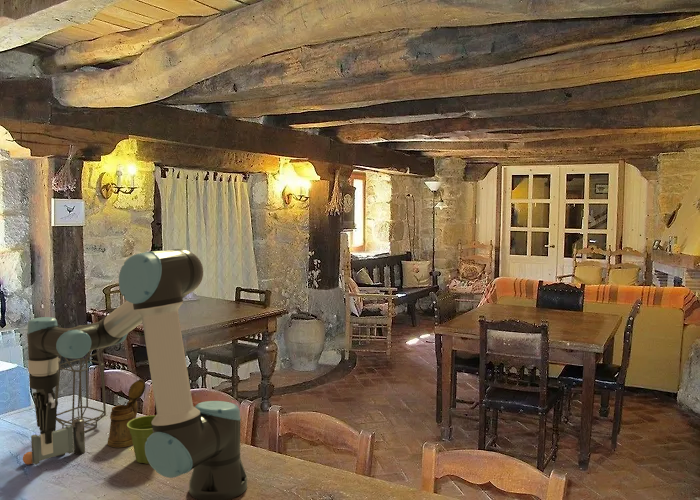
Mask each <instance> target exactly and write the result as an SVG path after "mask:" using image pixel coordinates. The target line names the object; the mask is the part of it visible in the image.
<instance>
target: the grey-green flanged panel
mask: <svg viewBox="0 0 700 500" xmlns="http://www.w3.org/2000/svg"><path fill="white" fill-rule="evenodd" d="M66 425H67V426H65V427H64V428H63V429H62V428H60V429H57V430H55V431H53V432H52V433H53V453H51V454H47V455H44V456H43V455H42V454H41V434H38V435H37V434H31V435H30V437H31V438H30V439H31V440H30V441H31V442H30V443H31V452H32V464H34V465H38V464H40V462H41V461H44V460H47V459H50V458H54V457H56V456H58V455H61V454H64V453H65V454H67V453H68V454H74V451H73V426H71V424H66ZM58 457H59V456H58Z"/></svg>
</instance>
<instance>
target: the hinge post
mask: <svg viewBox="0 0 700 500" xmlns="http://www.w3.org/2000/svg"><path fill="white" fill-rule="evenodd" d="M84 421H85V418H83V419H82V418H79V419H78V418H76V419H74V420H73V455H76V456H77V455H78V456H79V455H82V454H85V453H86V435H85V433H86V432H85V431H86V430H85V427H84V426H85V423H84Z"/></svg>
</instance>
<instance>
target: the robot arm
mask: <svg viewBox="0 0 700 500" xmlns="http://www.w3.org/2000/svg"><path fill="white" fill-rule="evenodd" d="M203 267H204V266H203V263H202V262H201V259H200V258H199V257H198V255H196V254H195V253H193V252H192V251H190V250H188V249H183V248H174V249H168V250H167V249H166V250H165V249H164V250H153V251H145V252H141V253H136V254H133V255H131V256H130V257H128V258H127V259H126V260H125V261H124V263H123V265H122V266H121V267H120V271H119V273H118V288H119V291H120V294H121V295H122V296H123V298H124V299H125V301H124V302H123V303H122V304H120V305H119V306H118V307H116V308H115V309H114V310H112V312H110V313H108V314H107V315H106V316H105V317H103V318H102V319H101V320H99V321H96V322H92V323H87V324H82V325H83V326H78V325H77V326H78V327H76V326H74V327H69V328H63V327H59V324H58V320H57V319H56V318H55V317H52V316H41V317H36V318H35V317H34V318H31V319H30V320H28V322H27V333H26V338H27V352H28V353H27V354H28V356H27V357H28V360H27V361H28V362H27V363H28V373H29V378H28V379H29V387H30V389H32V390H35V392H33V393H32V396H33V400H34V409H35V417H36V418H35V419H36V426H37V427H38V428H39V429H38V430H39V433H40V434H39V435H41V454H42V455H43V456H44V455H47V454H51V453H53V433H52V432H53V431H56V429H57V421H56V417H57V416H56V415H57V414H58V412H57V411H58V405H59V400H58V401H57V400H56V401H55V391H54V388H56V386H57V385H58V384H59V385H60V379H59V372H58V371H59V365H58V363H59V361H60V356H62V357H63V358H64V357H65V358H67V359H74V360H77V359H81V358H83V357H85V356H86V355H87V353H89V351H92V352H93V351H95V350H96V351H97V349H98V350H100V348H103V347H106V348H107V347H112V346H116V345H118V344H120V343H123V342H124V341H125V340H126V339H127V336H128V334H129V333H130V332H131V331H133V330H134V329H136V328H137V327H139V326H140V325H141V324H142V328H143V334H144V340H145V346H146V354H147V359H148V360H147V361H148V364H149V366H148V367H149V372H150V378H151V379H150V380H151V384H152V392H153V397H154V404H155V412H156V415H155V417H154V419H153V420H152V429H153V433H152V434H151V435H150V436H149V437H148V438H147V441H146V443H145V454H146V457H147V460H148V462H149V464H148V465H150V466H151V468H152V469H153V470H154V471H156V473H157V474H158V475H160V476H162V477H165V478H169V479H173V478H178V477H179V476H182V475H186V474H188V473H189V472H190V471H191V470H192V472H191V475H190V478H189V481H188V488H189V489H188V493H189V495H190V496H191V497H192V498H194V499H196V500H232V499H235V498H237V497H239V496H241V495H243V493H245V492H246V491H247V489H248V477H247V474H246V471H245V468H244V464H243V462H242V459H241V420H242V419H241V412H240V411H241V410H240V408H239V406H238V405H237V404H235V403H233V402H230V401H229V402H228V401H223V400H207V401H202V402H199V403H197V404H196V405H195V406H194V404H193V398H192V391H191V385H190V380H189V379H190V378H189V373H188V366H187V359H186V354H185V348H184V347H185V346H184V340H183V334H182V327H181V321H180V314H179V310H180V308H181V306H182V305H183V303H184V299H183V298H185V297H186V296H188V295H189V294H191V293H192V292H194V291H195V290H196V289H197V288H199V286H200V284H201V283H202V281H203V278H204V268H203ZM62 357H61V358H62ZM65 358H64V359H65ZM60 362H61V361H60ZM57 370H58V371H57Z"/></svg>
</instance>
